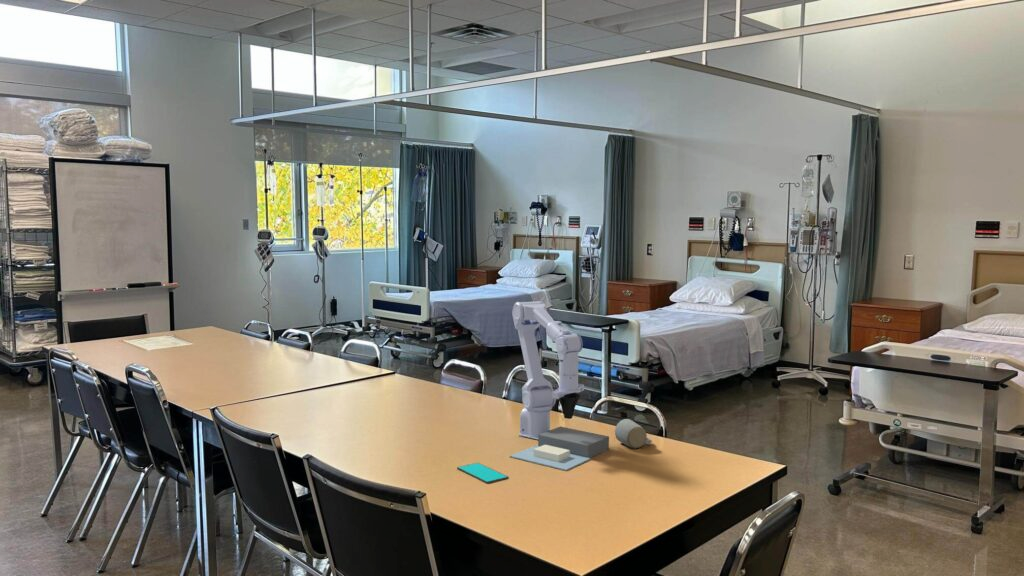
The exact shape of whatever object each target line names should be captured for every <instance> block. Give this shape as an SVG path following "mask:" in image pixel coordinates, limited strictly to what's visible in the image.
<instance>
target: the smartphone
mask: <svg viewBox="0 0 1024 576" xmlns="http://www.w3.org/2000/svg"><path fill="white" fill-rule="evenodd" d="M456 468H457V469H456V470H458V471H459V472H462V473H464V474H466V475H468V476H470V477H472V478H475V479H476V480H478V481H480V482H482V483H485V484H487V485H489V484H493V483H496V482H499V481H500V482H501V481H504V480H509V479H510V478H509V477H510V476H508V475H506V474H504V473H502V472H499V471H497V470H496V469H495V470H494V469H493V468H491V467H488V466H486V465H484V464H482V463H480V462H475V463H470V464H466V465H462V466H461V465H460V466H457V467H456Z"/></svg>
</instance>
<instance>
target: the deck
mask: <svg viewBox="0 0 1024 576" xmlns="http://www.w3.org/2000/svg"><path fill="white" fill-rule="evenodd" d="M537 441H538V442H537V443H538V444H537V446H543V445H549V446H554V447H558V448H562V449H567V450H570V454H575V455H579V456H584V457H588V458H591V459H592V458H593V457H595V456H597V455H600V454H601V453H603V452H606V451H607V450H608V451H609V449H610V436H608V435H605V434H598V433H593V432H589V431H584V430H579V429H574V428H571V427H570V428H568V427H564V426H558V427H554V428H552V429H550V431H547V432H544V433H542V434H539V435H538V440H537Z"/></svg>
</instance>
